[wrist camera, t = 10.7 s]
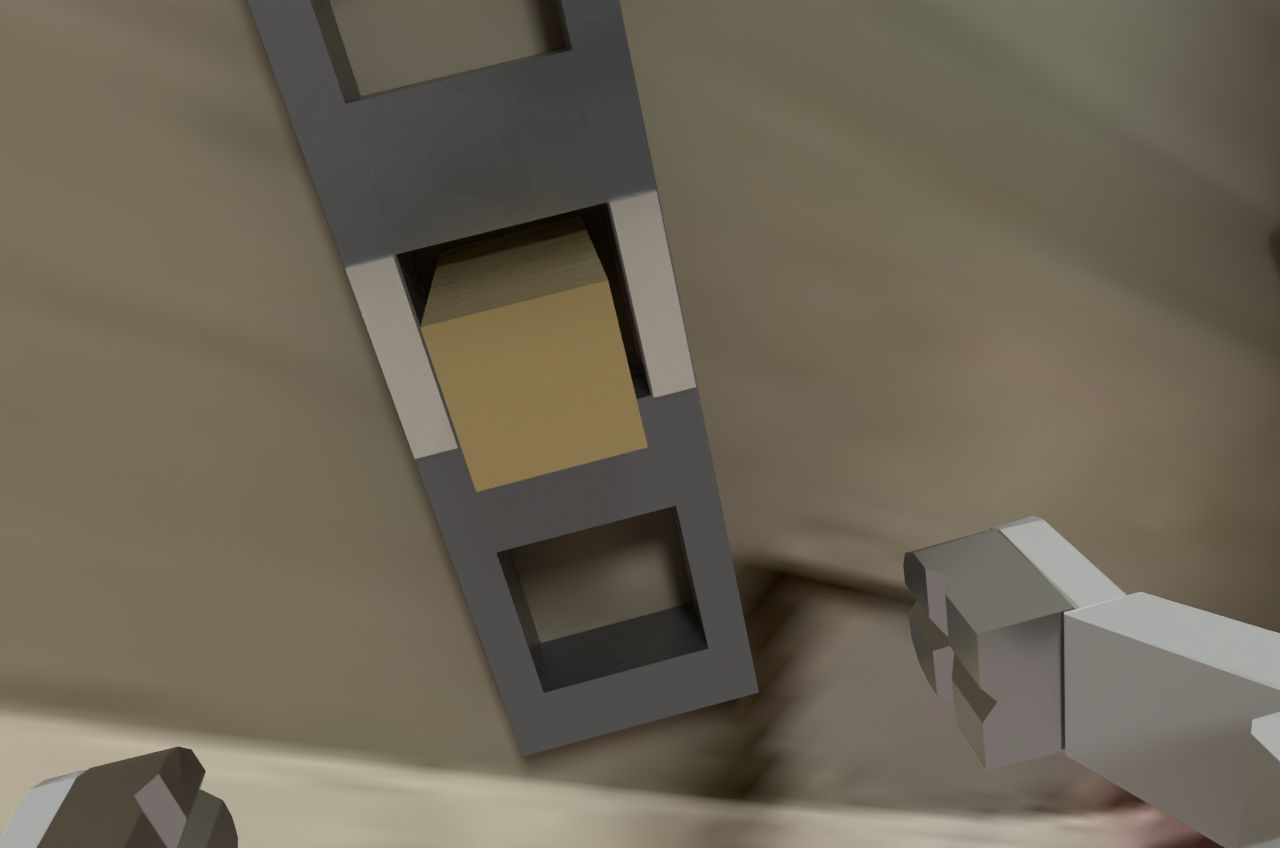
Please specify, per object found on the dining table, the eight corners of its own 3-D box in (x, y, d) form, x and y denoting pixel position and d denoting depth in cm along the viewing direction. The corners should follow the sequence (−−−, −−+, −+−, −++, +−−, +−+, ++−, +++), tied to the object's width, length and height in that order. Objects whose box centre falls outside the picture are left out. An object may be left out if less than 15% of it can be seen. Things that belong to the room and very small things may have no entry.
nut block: (580, 215, 25) (607, 280, 19) (612, 347, 27) (647, 447, 20) (440, 250, 25) (420, 327, 18) (481, 381, 26) (476, 491, 20)
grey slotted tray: (537, -333, 20) (543, -383, 17) (740, 645, 32) (760, 696, 29) (182, -254, 20) (136, -295, 17) (521, 703, 31) (523, 761, 29)
